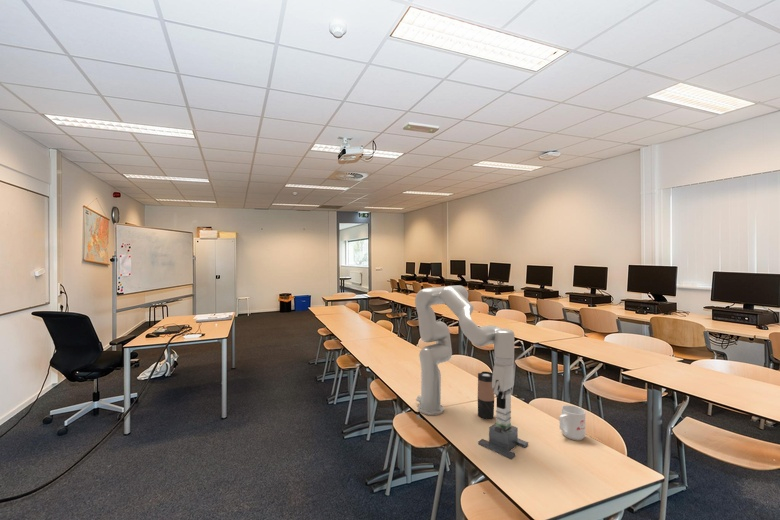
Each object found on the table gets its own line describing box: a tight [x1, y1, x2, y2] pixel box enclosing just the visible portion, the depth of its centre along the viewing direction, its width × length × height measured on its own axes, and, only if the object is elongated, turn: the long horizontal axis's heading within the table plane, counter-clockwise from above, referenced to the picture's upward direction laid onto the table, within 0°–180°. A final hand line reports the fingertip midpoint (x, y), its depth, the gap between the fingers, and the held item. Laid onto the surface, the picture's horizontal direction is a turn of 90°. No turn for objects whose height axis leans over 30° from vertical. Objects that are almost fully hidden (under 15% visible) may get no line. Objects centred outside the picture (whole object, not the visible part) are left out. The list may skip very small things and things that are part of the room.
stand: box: [478, 422, 529, 460], centre depth 136 cm, size 14×14×8 cm
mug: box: [558, 404, 586, 441], centre depth 143 cm, size 12×9×11 cm
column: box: [495, 388, 512, 432], centre depth 136 cm, size 4×4×16 cm
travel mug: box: [477, 371, 495, 421], centre depth 161 cm, size 8×8×20 cm
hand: (503, 405), depth 136 cm, fingers closed on column, 4 cm apart
